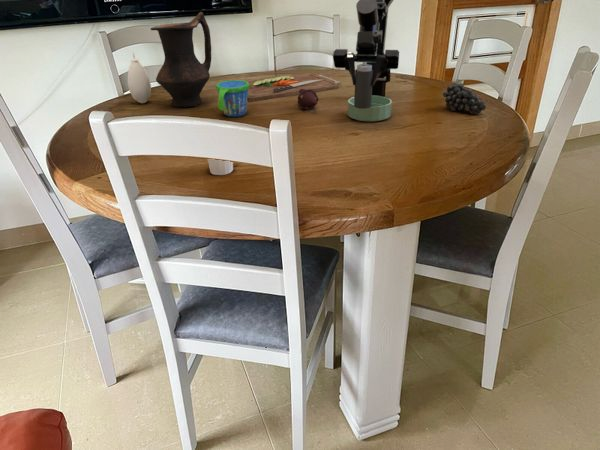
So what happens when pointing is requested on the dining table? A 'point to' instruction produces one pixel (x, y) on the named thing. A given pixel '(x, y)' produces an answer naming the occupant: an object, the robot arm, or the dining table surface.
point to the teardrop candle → (138, 81)
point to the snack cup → (233, 97)
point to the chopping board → (288, 85)
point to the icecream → (307, 99)
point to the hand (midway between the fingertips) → (363, 84)
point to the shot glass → (220, 167)
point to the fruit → (463, 99)
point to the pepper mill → (363, 86)
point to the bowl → (371, 109)
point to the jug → (183, 62)
